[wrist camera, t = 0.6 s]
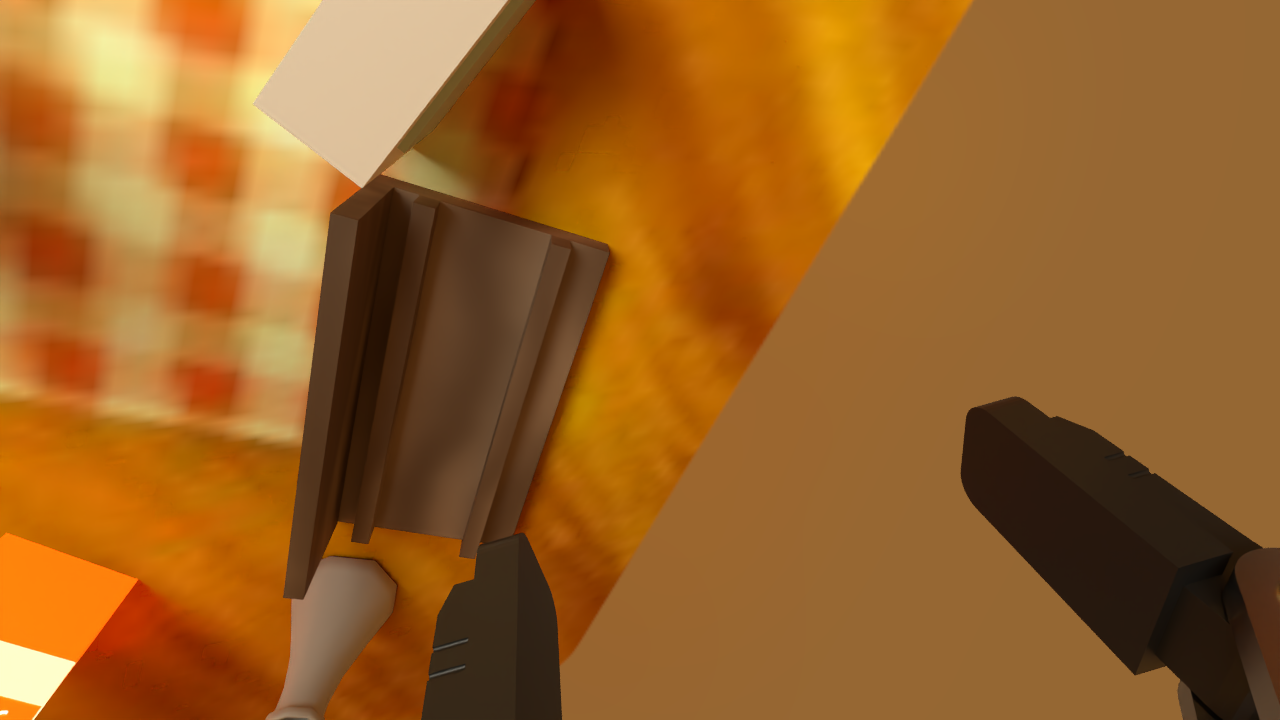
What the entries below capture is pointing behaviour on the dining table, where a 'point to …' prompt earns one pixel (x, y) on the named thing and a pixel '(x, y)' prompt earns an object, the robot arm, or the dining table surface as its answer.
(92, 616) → the orange juice
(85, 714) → the dining table surface
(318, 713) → the flask
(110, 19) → the dining table surface
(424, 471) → the picture ledge
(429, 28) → the white rectangular block
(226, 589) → the dining table surface
